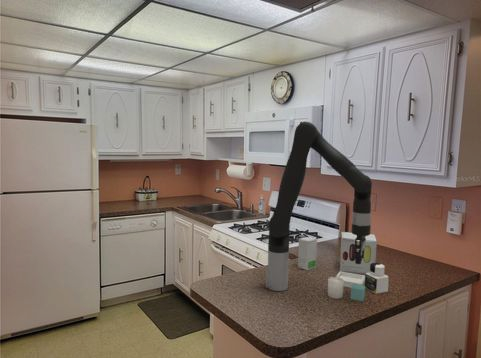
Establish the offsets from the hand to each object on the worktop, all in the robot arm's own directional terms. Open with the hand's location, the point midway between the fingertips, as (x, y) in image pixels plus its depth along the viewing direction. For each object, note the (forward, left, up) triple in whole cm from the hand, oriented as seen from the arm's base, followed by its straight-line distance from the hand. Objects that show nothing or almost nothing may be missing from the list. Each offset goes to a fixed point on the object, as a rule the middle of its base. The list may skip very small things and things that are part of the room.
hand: (359, 260), depth 149 cm
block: (0, 0, -16) cm, 16 cm away
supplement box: (-6, +37, -16) cm, 41 cm away
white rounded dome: (-9, -2, -16) cm, 19 cm away
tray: (-6, +16, -16) cm, 23 cm away
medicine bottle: (+6, +13, -16) cm, 22 cm away
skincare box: (-30, +27, -16) cm, 43 cm away
